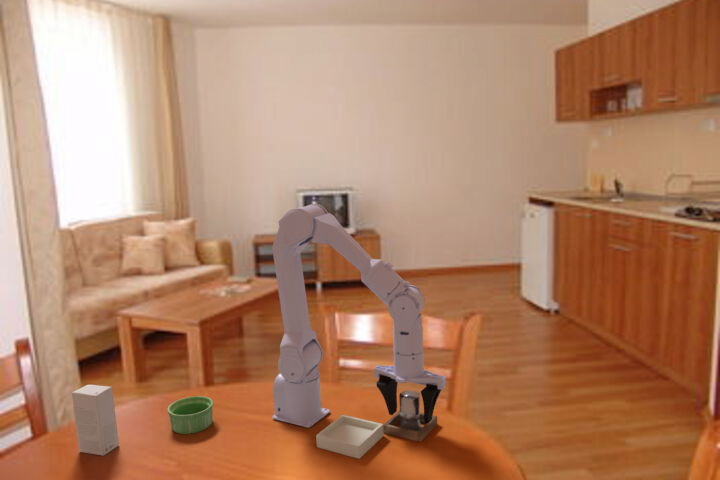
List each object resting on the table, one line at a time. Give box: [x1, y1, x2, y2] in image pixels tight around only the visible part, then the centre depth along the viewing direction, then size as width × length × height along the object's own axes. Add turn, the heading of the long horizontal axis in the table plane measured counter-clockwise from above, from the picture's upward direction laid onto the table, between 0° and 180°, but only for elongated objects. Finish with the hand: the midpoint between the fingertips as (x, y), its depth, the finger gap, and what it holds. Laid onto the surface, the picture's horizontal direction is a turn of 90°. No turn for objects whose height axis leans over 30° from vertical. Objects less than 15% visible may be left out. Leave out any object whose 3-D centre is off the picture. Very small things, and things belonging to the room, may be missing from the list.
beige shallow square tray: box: [315, 414, 385, 460], centre depth 106 cm, size 9×9×2 cm
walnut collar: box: [383, 409, 438, 443], centre depth 111 cm, size 8×8×2 cm
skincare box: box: [71, 384, 120, 456], centre depth 107 cm, size 6×4×12 cm
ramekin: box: [167, 395, 214, 435], centre depth 116 cm, size 9×9×4 cm
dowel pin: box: [398, 390, 422, 432], centre depth 110 cm, size 4×4×7 cm
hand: (410, 416), depth 110 cm, fingers open, 7 cm apart
